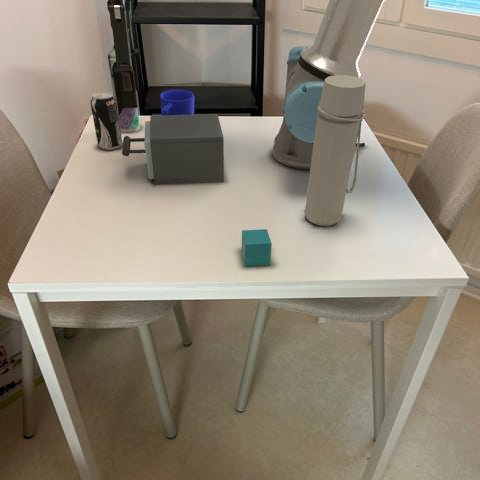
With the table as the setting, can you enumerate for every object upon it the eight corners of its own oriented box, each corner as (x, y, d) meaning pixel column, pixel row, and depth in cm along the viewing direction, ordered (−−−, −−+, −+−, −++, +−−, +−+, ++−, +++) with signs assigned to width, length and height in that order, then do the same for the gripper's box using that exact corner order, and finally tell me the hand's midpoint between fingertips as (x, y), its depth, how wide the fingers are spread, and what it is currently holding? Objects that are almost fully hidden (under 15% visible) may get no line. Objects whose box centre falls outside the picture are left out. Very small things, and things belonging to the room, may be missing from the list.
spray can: (128, 134, 121) (116, 45, 108) (114, 128, 124) (100, 41, 110) (144, 127, 124) (134, 41, 111) (129, 122, 127) (118, 37, 113)
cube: (265, 250, 85) (267, 228, 82) (270, 264, 82) (271, 243, 79) (241, 251, 84) (241, 230, 81) (244, 266, 81) (245, 244, 78)
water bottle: (312, 231, 90) (333, 90, 73) (297, 210, 95) (313, 74, 78) (357, 225, 92) (387, 86, 75) (340, 204, 97) (364, 71, 80)
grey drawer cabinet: (154, 184, 102) (149, 139, 95) (154, 158, 111) (150, 115, 105) (223, 181, 104) (223, 136, 97) (218, 156, 113) (217, 113, 106)
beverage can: (97, 142, 117) (88, 90, 109) (121, 140, 118) (113, 89, 110) (99, 152, 113) (89, 99, 105) (123, 150, 114) (116, 97, 106)
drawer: (124, 180, 101) (119, 143, 96) (127, 156, 109) (122, 121, 104) (212, 176, 103) (211, 140, 98) (208, 153, 111) (207, 119, 106)
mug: (151, 146, 116) (146, 103, 109) (171, 128, 125) (168, 87, 118) (182, 151, 114) (179, 108, 108) (200, 132, 123) (199, 91, 116)
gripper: (96, -50, 88) (115, 81, 103) (83, -32, 72) (108, 119, 87) (137, -49, 89) (150, 80, 104) (134, -32, 73) (149, 118, 88)
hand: (131, 98), depth 96 cm, fingers open, 9 cm apart
